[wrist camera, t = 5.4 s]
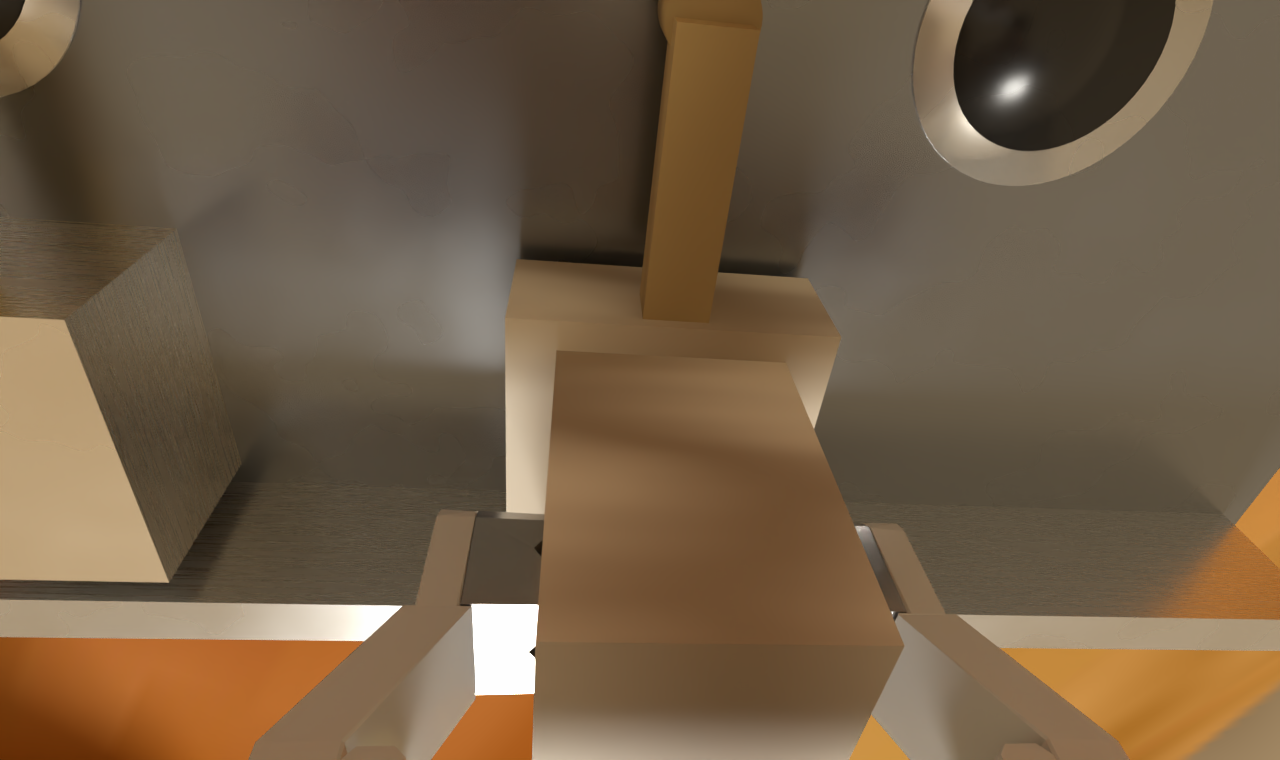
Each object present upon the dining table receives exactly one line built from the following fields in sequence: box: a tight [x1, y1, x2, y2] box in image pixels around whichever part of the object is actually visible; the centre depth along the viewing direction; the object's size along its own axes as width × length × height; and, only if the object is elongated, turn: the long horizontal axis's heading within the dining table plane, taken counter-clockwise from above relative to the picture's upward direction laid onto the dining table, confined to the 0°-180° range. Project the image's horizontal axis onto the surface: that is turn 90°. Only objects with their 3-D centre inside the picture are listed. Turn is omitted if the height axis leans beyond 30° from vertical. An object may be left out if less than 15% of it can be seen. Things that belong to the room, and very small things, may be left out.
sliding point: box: [505, 0, 905, 760], centre depth 9 cm, size 5×10×7 cm, turn 174°
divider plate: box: [0, 0, 1280, 651], centre depth 11 cm, size 28×14×4 cm, turn 84°
